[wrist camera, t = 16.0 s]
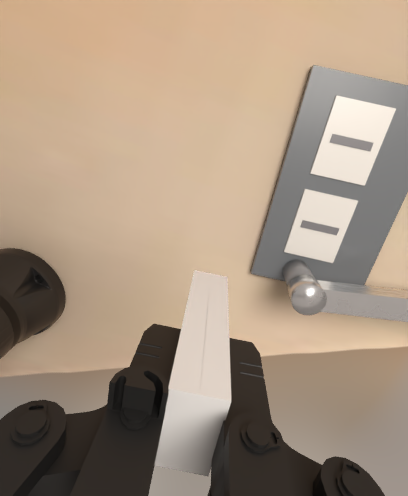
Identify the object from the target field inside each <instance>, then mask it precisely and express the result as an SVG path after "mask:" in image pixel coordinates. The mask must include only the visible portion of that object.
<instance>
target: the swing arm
mask: <svg viewBox="0 0 408 496" xmlns="http://www.w3.org/2000/svg"><path fill="white" fill-rule="evenodd" d="M288 294H289V297H290V300H291V302H292V305H293V307H294V309H295V310H296V311H297V312H299V313H300V314H303V315H313V314H316V313H318V312H327V313H335V314H344V315H353V316H361V317H370V318H378V319H387V320H395V321H404V322H408V290H402V289H393V288H384V287H375V286H366V285H357V284H348V283H339V282H330V281H321V280H317V279H316V278H315V277H313V276H311V275H308V274H301V275H298V276H296V277H294V278H293V279H292V280H291V281H290V282H289V284H288Z"/></svg>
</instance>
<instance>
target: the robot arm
mask: <svg viewBox="0 0 408 496" xmlns="http://www.w3.org/2000/svg"><path fill="white" fill-rule="evenodd" d="M64 306H65V292H64V288H63V285H62V283H61V281H60V279H59V277H58V275H57V274H56V273H55V271H54V270H53V269H52V268H51V267H50V266H49V265H48V264H47V263H46V262H45V261H44V260H42V259H41V258H39V257H38V256H36V255H34V254H32V253H30V252H27V251H24V250H20V249H13V248H7V249H1V250H0V359H1V358H2V357H3V356H4V355H5V354H6V353H7V352H8V351H9V350H10V349H11V348H12V347H13V346H15V345H16V344H17V343H19V342H22V341H24V340H25V339H27V338H29V337H30V336H32V335H36V334H39V333H41V332H43V331H45V330H46V329H48V328H49V327H50V326H51V325H52V324H53V323H54V322H55V321H56V320H57V319H58V318H59V317H60V316H61V314H62V312H63V310H64ZM263 376H264V375H263V369H262V363H261V357H260V353H259V352H258V350H257V349H256V347H255V346H254V344H253V343H252V342H247V341H242V340H237V339H232V338H229V312H228V281H227V277H226V276H221V275H216V274H211V273H207V272H202V271H197V270H194V274H193V278H192V283H191V287H190V292H189V296H188V301H187V305H186V310H185V314H184V319H183V323H182V328H181V329H177V328H172V327H167V326H162V325H158V324H153V325H152V326H150V327H149V328H148V329H147V330H146V331H144V333H143V336H142V338H141V341H140V344H139V345H138V348H137V350H136V354H135V355H134V358H133V360H132V362H131V365H130V367H128V368H124V369H123V370H121V371H120V372H118V373H116V374H115V376H114V377H113V378H112V380H111V381H110V384H109V394H108V403H107V405H106V406H104V407H102V408H100V409H97V410H94V411H90V412H84V413H74V414H65V412H64V409H63V408H62V407H60V406H59V405H58V404H57V403H55V402H51V401H47V400H39V401H31V402H28V403H26V404H23V405H20V406H18V407H17V408H15V409H14V410H12V411H11V412H9V413H8V414H7V415H5V416H4V417H3V418H2V419H1V420H0V496H148V494H149V489H150V484H151V479H152V474H153V470H154V466H158V467H164V468H168V469H174V470H179V471H184V472H189V473H194V474H199V475H204V476H208V475H209V472H210V469H211V486H210V490H209V493H208V496H385V495H384V493H383V492H382V490H381V489H380V487H379V486H378V485H377V483H376V482H375V481H374V480H373V478H372V477H371V476H370V475H369V474H368V473H367V472H366V471H365V470H364V469H362V468H361V467H360V466H359V465H358V464H356V463H354V462H352V461H350V460H348V459H346V458H341V457H332V458H329V459H326V461H325V462H324V464H323V465H321V464H319V463H317V462H315V461H313V460H311V459H309V458H307V457H305V456H304V455H302V454H300V453H298V452H297V451H295V450H293V449H292V448H291V447H289V446H288V445H287V444H286V443H285V442H284V441H283V439H282V436H281V433H280V432H279V431H278V430H277V428H276V427H275V426H274V424H273V423H272V420H271V415H270V409H269V404H268V398H267V392H266V386H265V380H264V379H263ZM211 466H212V468H211Z"/></svg>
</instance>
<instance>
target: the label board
mask: <svg viewBox="0 0 408 496" xmlns="http://www.w3.org/2000/svg"><path fill="white" fill-rule="evenodd" d="M407 192H408V85H403V84H398V83H394V82H389V81H385V80H380V79H376V78H371V77H367V76H362V75H357V74H353V73H348V72H344V71H339V70H335V69H330V68H325V67H321V66H316V65H313V66H312V67H311V69H310V73H309V76H308V79H307V83H306V86H305V89H304V93H303V96H302V99H301V103H300V106H299V110H298V113H297V116H296V120H295V123H294V126H293V130H292V133H291V136H290V140H289V143H288V147H287V150H286V153H285V157H284V160H283V163H282V167H281V170H280V173H279V177H278V180H277V183H276V187H275V190H274V194H273V197H272V200H271V204H270V207H269V210H268V214H267V217H266V220H265V224H264V227H263V231H262V234H261V237H260V241H259V244H258V247H257V251H256V254H255V257H254V261H253V264H252V267H251V274H255V275H260V276H264V277H268V278H273V279H277V280H281V281H285V282H286V284H287V286H288V284H289V282H290V281H291V280H292V279H293V278H294V277H296V276H298V275H301V274H308V275H311V276H313V277H315V278H316V279H317V280H321V281H330V282H339V283H348V284H357V285H364V284H365V282H366V280H367V278H368V276H369V274H370V271H371V269H372V267H373V265H374V263H375V261H376V259H377V256H378V254H379V252H380V250H381V248H382V246H383V244H384V241H385V239H386V237H387V235H388V233H389V231H390V229H391V227H392V224H393V222H394V220H395V218H396V216H397V214H398V212H399V209H400V207H401V205H402V203H403V201H404V199H405V197H406V194H407Z"/></svg>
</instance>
